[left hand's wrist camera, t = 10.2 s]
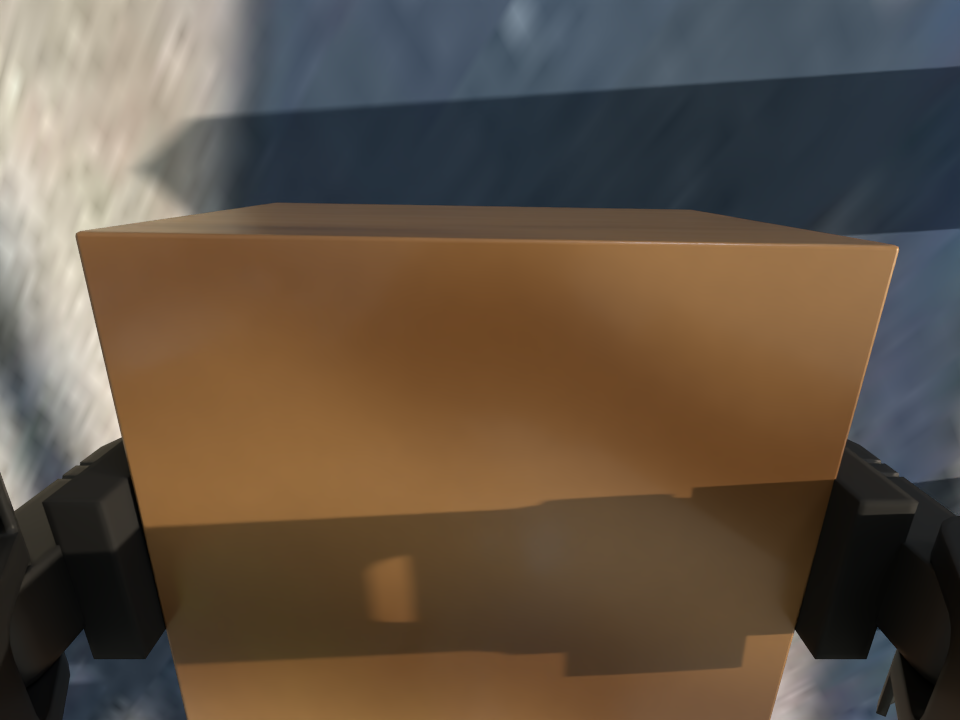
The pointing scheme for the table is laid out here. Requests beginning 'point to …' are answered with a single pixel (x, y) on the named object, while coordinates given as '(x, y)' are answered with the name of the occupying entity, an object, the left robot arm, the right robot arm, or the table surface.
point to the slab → (481, 452)
